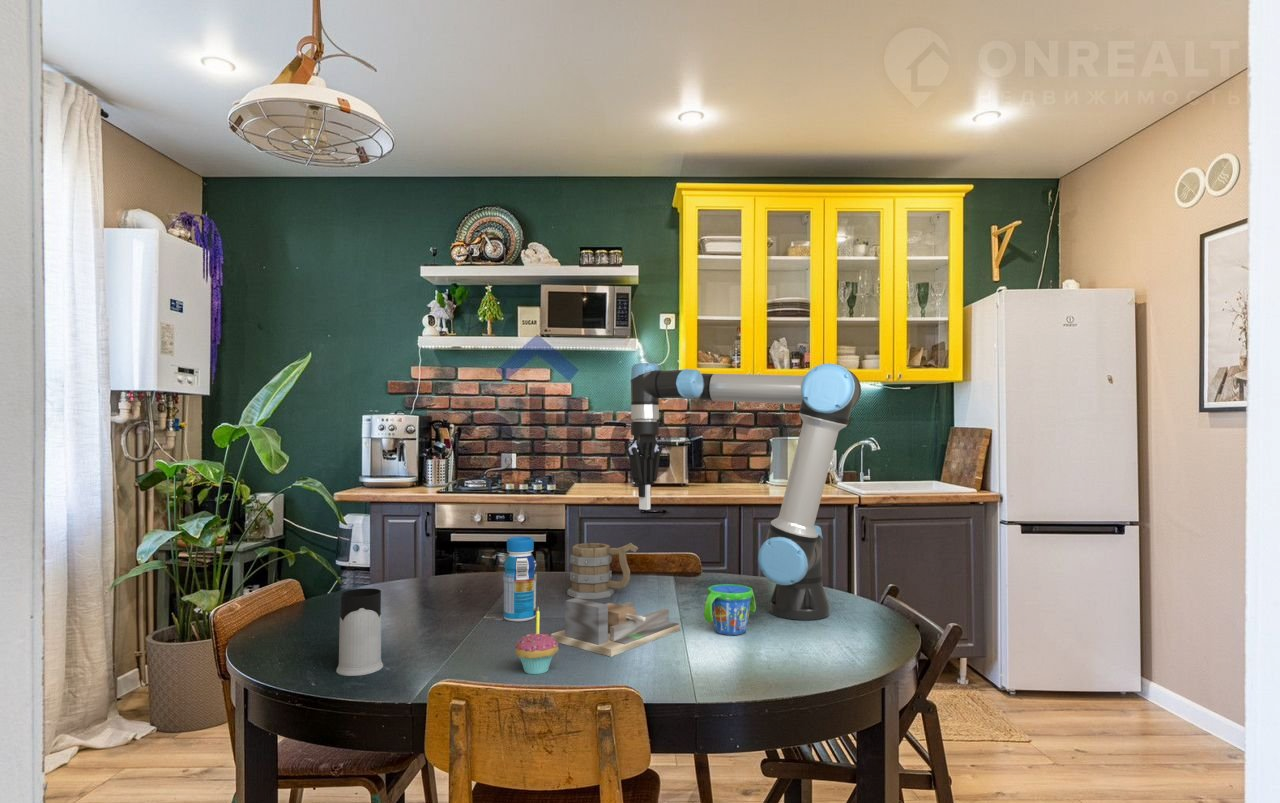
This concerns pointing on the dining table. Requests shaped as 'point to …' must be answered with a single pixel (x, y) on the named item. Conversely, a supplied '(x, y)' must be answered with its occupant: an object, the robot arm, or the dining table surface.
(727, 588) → the snack cup
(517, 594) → the beverage bottle
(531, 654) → the cupcake
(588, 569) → the tankard
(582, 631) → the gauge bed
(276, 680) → the dining table surface
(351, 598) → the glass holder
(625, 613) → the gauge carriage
